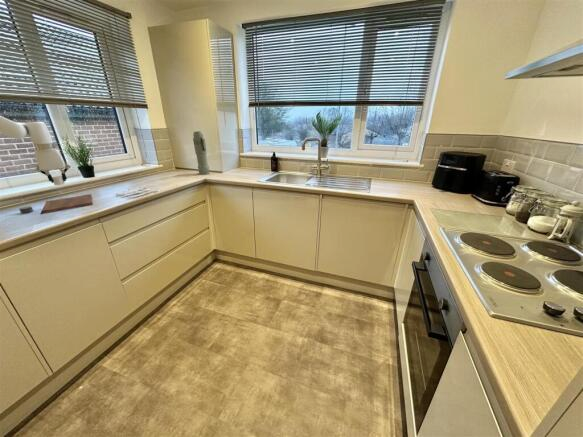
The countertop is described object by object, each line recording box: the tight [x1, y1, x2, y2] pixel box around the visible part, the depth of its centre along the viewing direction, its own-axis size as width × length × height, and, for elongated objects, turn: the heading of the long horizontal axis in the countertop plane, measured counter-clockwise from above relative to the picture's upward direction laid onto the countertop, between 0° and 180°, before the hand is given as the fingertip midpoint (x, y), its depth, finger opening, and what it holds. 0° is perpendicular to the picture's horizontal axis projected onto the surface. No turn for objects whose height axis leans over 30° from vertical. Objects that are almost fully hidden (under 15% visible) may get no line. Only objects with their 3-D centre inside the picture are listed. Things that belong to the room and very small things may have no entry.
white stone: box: [52, 175, 66, 186], centre depth 131 cm, size 4×4×4 cm
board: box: [39, 193, 94, 215], centre depth 136 cm, size 22×22×2 cm
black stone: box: [18, 205, 34, 215], centre depth 121 cm, size 4×4×4 cm
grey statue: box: [192, 130, 210, 176], centre depth 203 cm, size 9×12×35 cm
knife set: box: [114, 181, 178, 199], centre depth 161 cm, size 26×35×1 cm
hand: (58, 181), depth 132 cm, fingers closed on white stone, 4 cm apart
